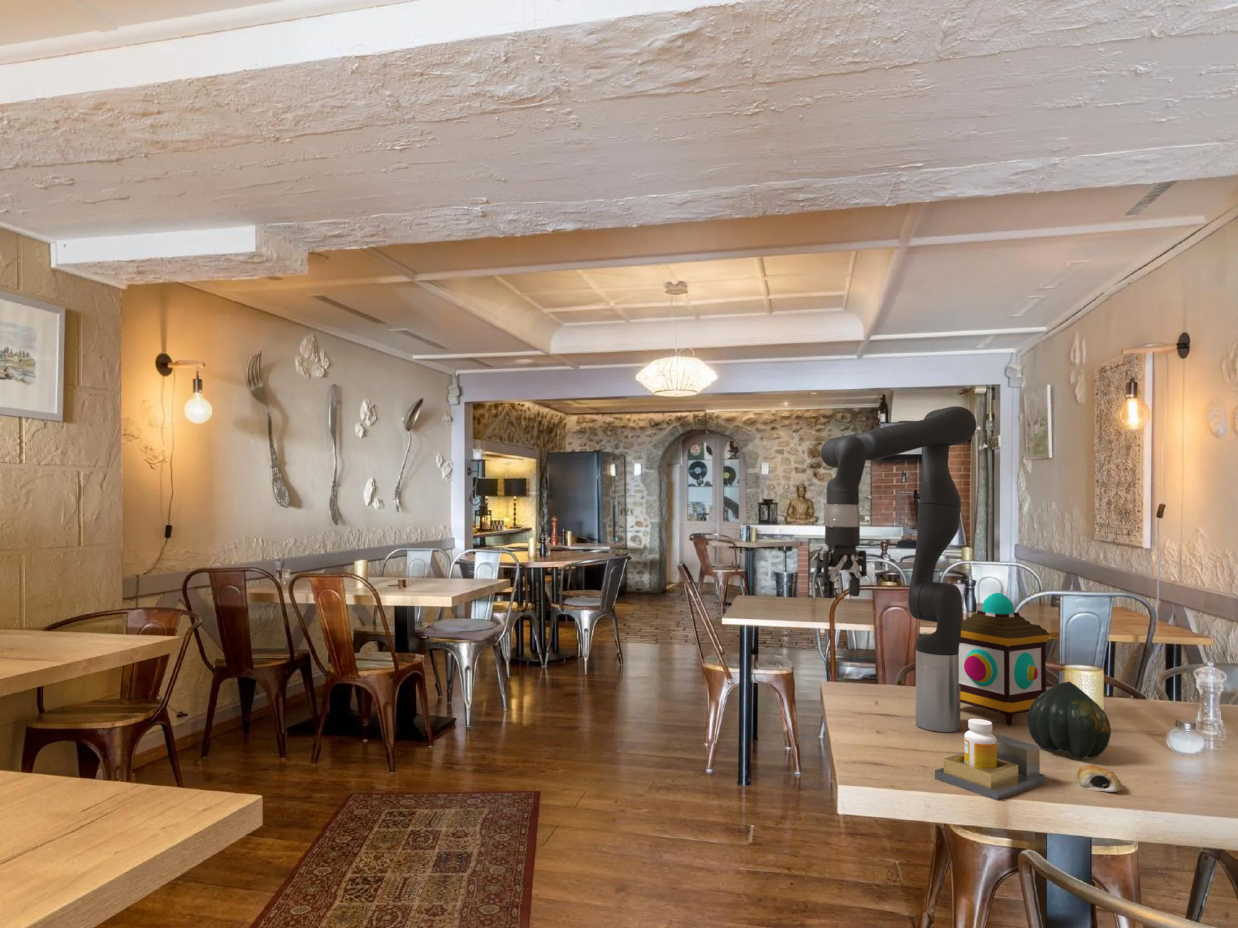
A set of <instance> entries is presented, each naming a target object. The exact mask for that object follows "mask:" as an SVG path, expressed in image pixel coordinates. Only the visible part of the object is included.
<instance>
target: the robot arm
mask: <svg viewBox="0 0 1238 928" xmlns="http://www.w3.org/2000/svg"><path fill="white" fill-rule="evenodd" d="M976 430H977V420H976V417H975V415H974V414H973V412H972V411H971V410H970V409H969V408H966V407H964V406H958V405H956V406H955V405H954V406H948V407H943V408H939V409H935V410H931V411H930V412H928V413H927V414H926V415H925V416H924V418H923V419H920V420H916V421H910V422H904V423H898V424H893V425H892V424H891V425H886V426H882V427H878V428H873V429H870V430H866V431H863V432H860V433H855V434H849V435H841V436H835V437H832V438H829V439H828V440H826V441H825V442H824V443H823V444H822V446H821V448H820V457H821V460H822V462H823V463H824V464H826V466H828V467H830V468H834V469H837V470H836V475H835V476H834V478H831V479H830V480H828V481H827V484H826V507H825V512H824V513H825V514H824V515H825V516H824V523H825V524H824V528H825V529H824V544H825V546H828V547H827V550H818V551H817V554H816V573H815V576H816V578H818V579H821V580H822V581H823V589H822V590H823V597H824V598H825V599H834V597H835V581H834V580H835V578H836V576H837V575H838V574H840V572H841V571H845V572H846V573H847V575H848V577H849V578H850V579H849V581H848V584H849V585H848V586H849V587H848V589H849V593H848V594H849V596H850V597H859V596H860V593H861V592H860V591H861V589H860V588H861V585H860V584H861V579H862V578H863V577H864V578H865V577H867V574H868V572H867V570H868V569H867V567H868V566H867V551H866V550H862V549H861V550H860V549H857V547H859V546H860V543H861V542H860V541H861V540H860V537H861V533H860V532H861V531H860V530H861V528H860V527H861V513H860V508H859V507H860V483H861V481H862V478H863V473H864V470H865V465H866V461H875V460H876V461H877V460H882V459H884V458H889V457H893V456H897V455H900V454H903V453H907V452H909V451H912V450H913V451H914V450H916V449H920V448H921V478H920V479H921V480H920V494H919V495H920V496H919V502H918V515H917V531H916V544H915V555H914V560H913V565H912V570H911V571H912V572H911V577H910V583H909V588H908V589H909V590H908V597H907V598H908V599H907V604H908V611H909V613H910V615H911V616H912V617H913V618H914V619H916V620H921V621H926V622H933V623H934V622H935V623H936V629H935V631H934V632H932V633H930V634H926V635H921V636H918V637H917V638H916V639H915V725H916V726H917V727H919V728H921V729H923V730H927V731H933V732H940V733H954V732H958V731H959V729H960V727H961V702H960V685H959V644H960V639H961V621H962V620H963V597H962V593H961V590H960V589H959V587H958V586H957V585H956V584H953V583H949V582H948V583H946V582H939V581H938V582H937V581H934V575H935V571H936V566H937V564H938V561H939V559H940V558H941V556H942V555H943V553H944V551H945V550H946V549H947V548H948V546H949V545H950V544H951V542H952V541H953V540H954V538H955V537H956V535H957V533H958V531H959V529H960V523H961V521H960V520H961V511H962V510H961V508H962V500H961V496H960V494H959V491H958V489H957V486H956V484H955V482H954V480H953V478H952V475H951V473H950V469H949V454H950V448H951V447H950V446H955V445H956V446H957V445H962V444H965V443H967V442H968V441H970V440H971V438H973V436H974V435H975V434H976V432H977V431H976ZM860 567H861V569H860ZM822 568H823V569H822ZM822 571H823V572H822Z"/></svg>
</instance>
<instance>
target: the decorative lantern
mask: <svg viewBox="0 0 1238 928" xmlns="http://www.w3.org/2000/svg"><path fill="white" fill-rule="evenodd" d="M1050 637H1051V633H1050V632H1048V631H1047V629H1045V628H1042V626H1041V625H1040V624H1035V623H1031V622H1030V621H1029V620H1027V619H1025V617H1023V616H1020V612H1014V604H1013V601H1011V599H1010V598H1008V596H1006V595H1005V594H1003V593H1001V592H994V593H992V594H990V595H989V596H988V597H987V598H985V599H984V601H983V603H982V610H981V609H980V610H976V613H973V614H971V616H970V617H967V618H966V619H962V621H961V639H960V644H959V685H960V704H966V705H969V706H973V707H977V708H981V709H985V710H987V711H988V710H989V711H992V712H994V713H999V714H1001V715H1003V717H1004V722H1005V725H1006V727H1009V728H1010V727H1012V725H1013V721H1014V720H1013V719H1014V716H1016V715H1019V714H1021V715H1022V714H1025V713H1028V712H1029V709H1030V707H1031V705H1032V703H1033V702H1034V701H1035V699H1036V698H1037V697H1039V696H1040V695H1041V694H1042V693H1044V692H1045V691H1047V687H1046V686H1047V685H1046V684H1047V682H1046V681H1047V676H1046V675H1047V673H1046V672H1047V670H1046V667H1047V665H1046V664H1047V663H1046V655H1047V654H1046V653H1047V652H1046V645H1047V642H1048V640H1049V639H1050Z"/></svg>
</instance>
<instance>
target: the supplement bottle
mask: <svg viewBox="0 0 1238 928" xmlns="http://www.w3.org/2000/svg"><path fill="white" fill-rule="evenodd" d="M967 727H968V729H969V730H967V731H966V732H965V733H964V735H963V737H964V739H963V745H964V747H963V749H964V752H963V753H964V763H965V764H968V765H972V766H975V767H978V768H981V769H984V770H987V771H989V770H993V769H996V768H997V741H996V737H995V736H994V735H993V734H991V733H992V732H993V723H992V722H991V721H989V720H986V719H981V718H970V719H968V723H967Z"/></svg>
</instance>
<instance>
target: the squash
mask: <svg viewBox="0 0 1238 928" xmlns="http://www.w3.org/2000/svg"><path fill="white" fill-rule="evenodd" d="M1026 718H1027V727H1028V730H1029V731H1028V732H1029V734H1030V736H1031V738H1032V740H1033V741H1034V742H1035V743H1036V744H1035V745H1038V746H1039V747H1040V748H1041V749H1043V750H1045V751H1049V752H1058V751H1060V752H1062V753H1067V752H1068V754H1069V756H1071V757H1072V758H1073V759H1076V760H1082V759H1083V760H1084V759H1086V758H1088V759H1089V758H1096V757H1099V756H1100V755H1101V754H1103V752H1104V751H1105V750H1106V749H1107V747H1108V745H1109V743H1110V739H1111V732H1112V729H1111V723H1110V719H1109V717H1108V716H1107V714H1106V712H1105V711H1104V710H1103V709H1102V707H1101V706H1100V705H1099V704H1098V703H1097V702H1096V701H1094V700H1093V699H1092V698H1091V697H1090V696H1089V695H1088V694H1086V692H1084V691H1083V690H1082V689H1081V688H1080V687H1079V686H1078V685H1076V684H1074V683H1073V682H1072V681H1066V682H1061V683H1058V684H1056V685H1054V686H1052V687H1051V688H1049V689H1046V691H1045V692H1044V693H1042V694H1041V695H1040V696H1039V697H1037V698H1036V699H1035V701H1034V702H1033V703H1032V705H1031V707H1030V709H1029V712H1027V717H1026Z"/></svg>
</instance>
